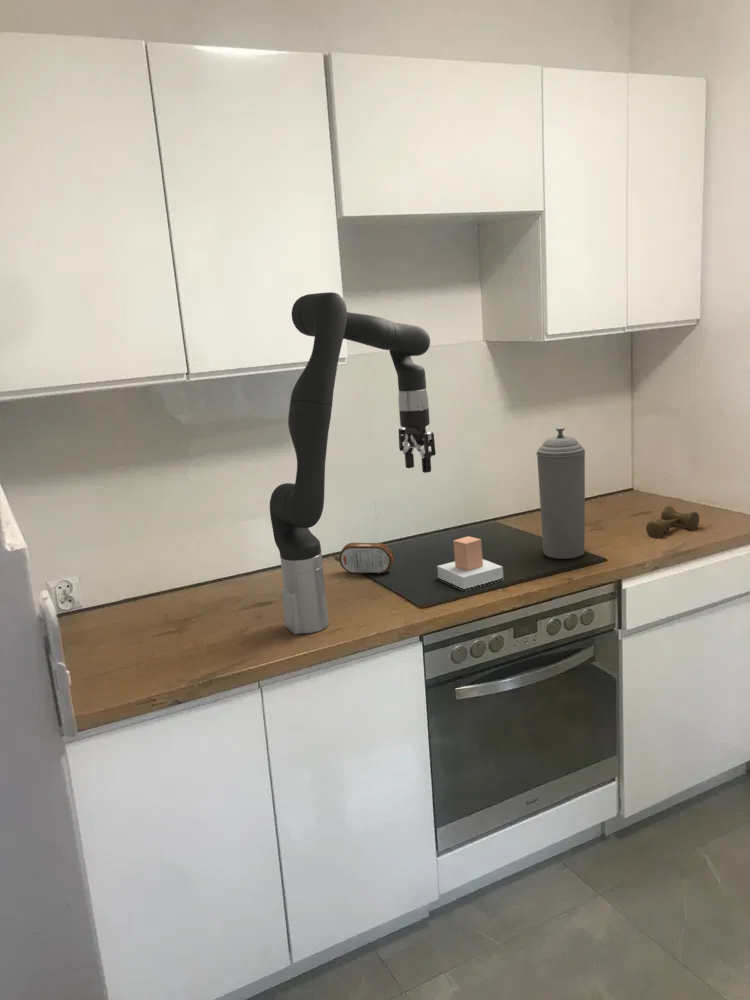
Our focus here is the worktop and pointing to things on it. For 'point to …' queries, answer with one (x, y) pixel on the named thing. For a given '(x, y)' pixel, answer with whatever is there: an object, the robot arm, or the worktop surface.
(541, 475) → the canister
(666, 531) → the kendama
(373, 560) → the tin
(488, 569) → the white block
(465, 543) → the terracotta block
